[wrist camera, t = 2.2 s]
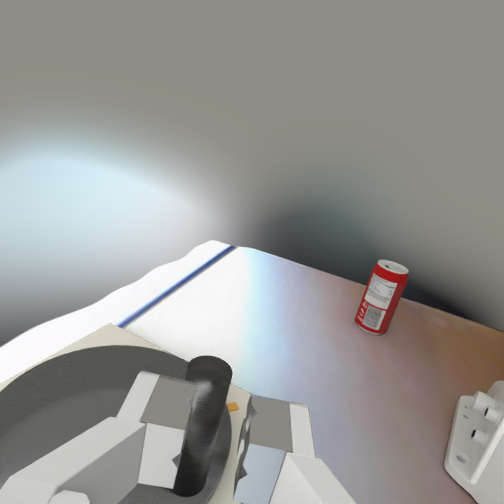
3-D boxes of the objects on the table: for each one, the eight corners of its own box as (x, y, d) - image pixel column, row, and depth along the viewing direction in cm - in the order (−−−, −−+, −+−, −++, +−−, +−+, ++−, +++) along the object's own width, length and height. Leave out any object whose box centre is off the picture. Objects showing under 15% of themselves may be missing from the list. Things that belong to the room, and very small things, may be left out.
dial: (-85, 434, 27) (-103, 301, 23) (128, 334, 44) (139, 246, 40) (79, 659, 19) (95, 508, 15) (268, 428, 35) (299, 328, 31)
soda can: (381, 322, 66) (405, 262, 62) (389, 339, 61) (416, 275, 57) (351, 315, 66) (373, 254, 62) (357, 331, 61) (381, 266, 57)
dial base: (109, 332, 46) (110, 321, 46) (282, 422, 39) (286, 410, 38) (-151, 484, 25) (-155, 466, 24) (120, 746, 18) (124, 730, 17)
